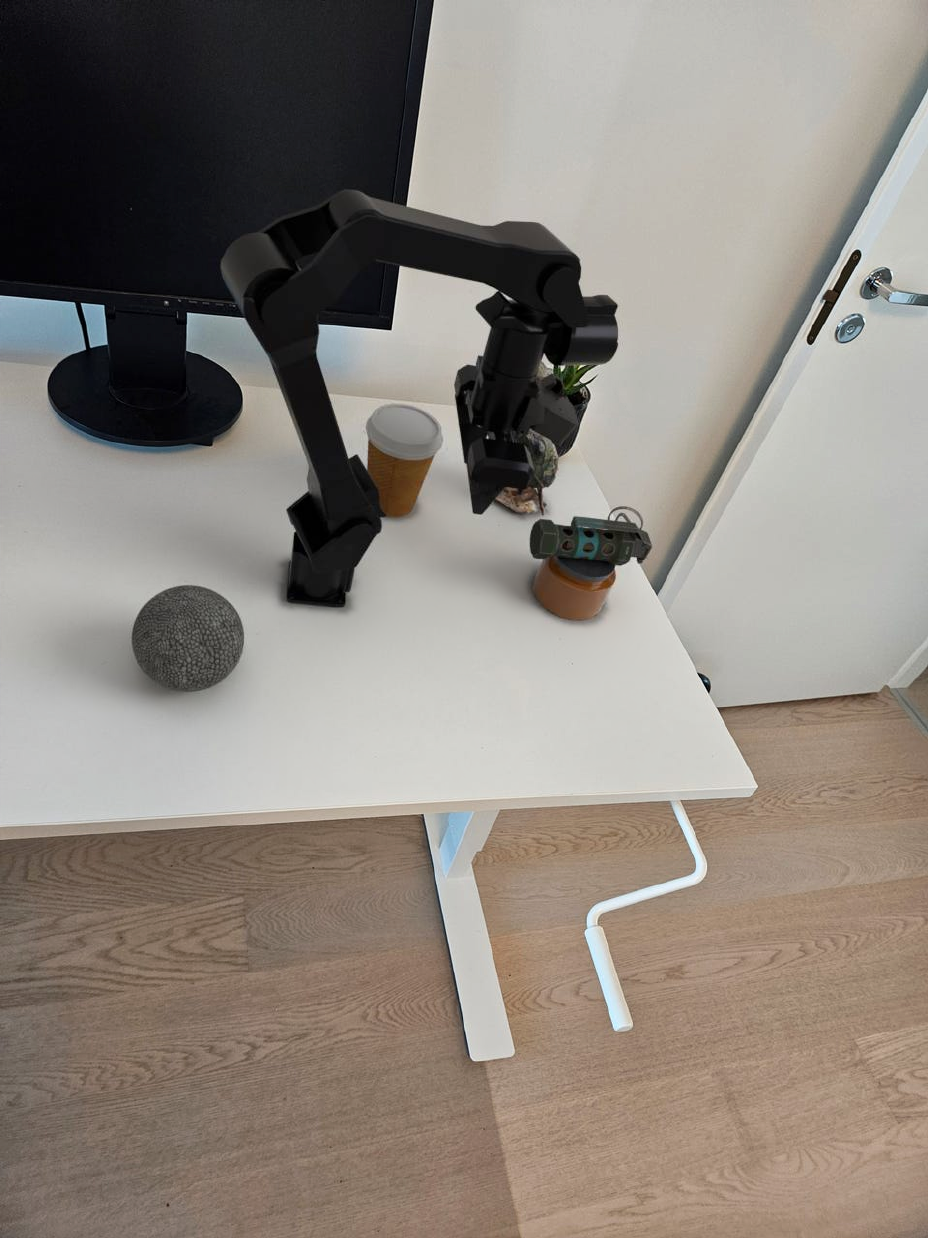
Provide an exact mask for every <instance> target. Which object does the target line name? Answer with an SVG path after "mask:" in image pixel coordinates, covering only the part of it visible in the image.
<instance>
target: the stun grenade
mask: <svg viewBox="0 0 928 1238" xmlns="http://www.w3.org/2000/svg"><path fill="white" fill-rule="evenodd" d="M618 510H627V511H629V512H632V513H634V514H636V516H637V517H638V519H639V521H640V527H639V526H638V524H637V523H636V522H632V521H631V519H630V518H629V517H628V515H627V514H626V513H625V512H619V513H618V514H617V515H616V518H615V519H614V520H613V519H612V520H611V515H612V514H613V513H614V512H616V511H618ZM620 517H623V519H624V520H625V521H622V520H621V521H620V520H619V518H620ZM643 526H644V519H643V516H642V515H641V514H640V512H639V511H638V510H636V509H635V508H633V507H631V506H626V505H620V506H617V507H614V508H613V509H612V510H611V511H610V512H609V514H608V516H607V519H604V518H594V517H586V516H577V515H574V516H573V518H572V520H571V522H570V525H564V524H556V523H555V522H553V520H552V519H545V518H539V519H538V520H536V521H535V522H534V523H533V525H532V527H531V530H530V534H529V551H530V554H531V555H532V559H535V560H543V559H546V558H548V557H550V556H561V557H568V558H583V559H589V560H604V561H608V562H609V564H610V565H615V566H619V567H621V566H623V565H626V564H628V563H630V562H631V559H632V558H636V563H637V564H638V565H640V564H643V563H644V561H645V560H646V559H647V560H649V558H648V555H649V554H650V552H651V550H652V549H653V544H652V542H651V539H650V535H649V532H647V531H645V530H644V529H642V528H643Z"/></svg>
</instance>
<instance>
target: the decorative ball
mask: <svg viewBox="0 0 928 1238" xmlns="http://www.w3.org/2000/svg"><path fill="white" fill-rule="evenodd" d="M243 625H244V624H243V622H242V620H241V617H240V615H239V613H238V611H237V610H236V608H235V607H234V605H233V604H232V603H231V602H230V601H229V600H228V599H227V598H225V596H223V595H221V594H220V593H218V592H217V591H215V590H212V589H211V588H207V587H205V586H200V585H195V584H183V585H175V586H172V587H169V588H166V589H163V590H162V591H160V592H158V593H157V594H155V595H154V596H152V597H151V598H150V599H149V600H148V601H146V603H145V604H144V605H142V607H141V609H140V610H139V611H138V613H137V616H136V618H135V620H134V623H133V627H132V632H131V647H132V652H133V655H134V658H135V661H136V663H137V664H138V666H139V668H140V669H141V670H142V672H143V673H144V675H146V676H147V677H148V678H149V679H151V680H152V681H153V682H154V683H156V684H158V685H160V686H161V687H163V688H166V689H168V690H172V691H175V692H182V693H194V692H195V693H196V692H200V691H204V690H207V689H209V688H212V687H214V686H216V685H218V684H219V683H221V682H222V681H224V680H225V679H226V678H227V677H228V676H229V675H230V674H231V673H232V672H233V671H234V670H235V668H236V667H237V666H238V663H239V661H240V659H241V657H242V655H243V650H244V645H245V630H244V626H243Z"/></svg>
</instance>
